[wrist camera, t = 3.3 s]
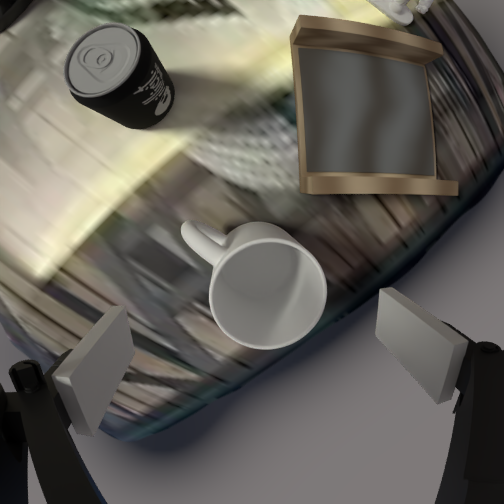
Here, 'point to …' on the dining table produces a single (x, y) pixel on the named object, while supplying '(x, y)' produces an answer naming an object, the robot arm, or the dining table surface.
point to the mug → (260, 282)
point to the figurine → (400, 9)
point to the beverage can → (119, 76)
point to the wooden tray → (364, 109)
